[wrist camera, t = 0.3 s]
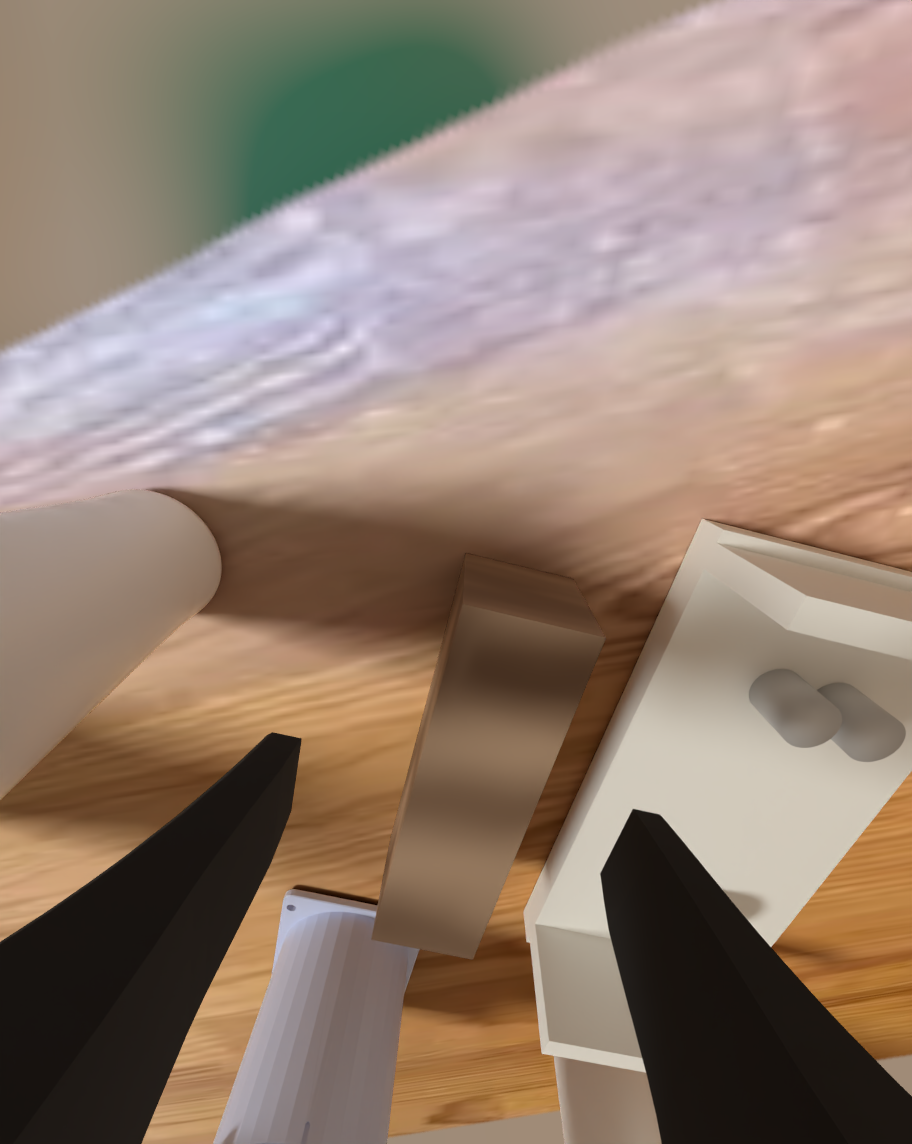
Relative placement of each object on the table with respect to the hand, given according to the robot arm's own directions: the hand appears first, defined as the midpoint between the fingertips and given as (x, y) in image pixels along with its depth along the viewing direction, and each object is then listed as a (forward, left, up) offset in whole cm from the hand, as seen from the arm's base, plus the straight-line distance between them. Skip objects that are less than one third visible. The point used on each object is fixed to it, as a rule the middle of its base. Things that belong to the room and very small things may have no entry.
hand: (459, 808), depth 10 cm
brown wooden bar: (-5, -2, -10) cm, 11 cm away
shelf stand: (-5, -14, -10) cm, 18 cm away
